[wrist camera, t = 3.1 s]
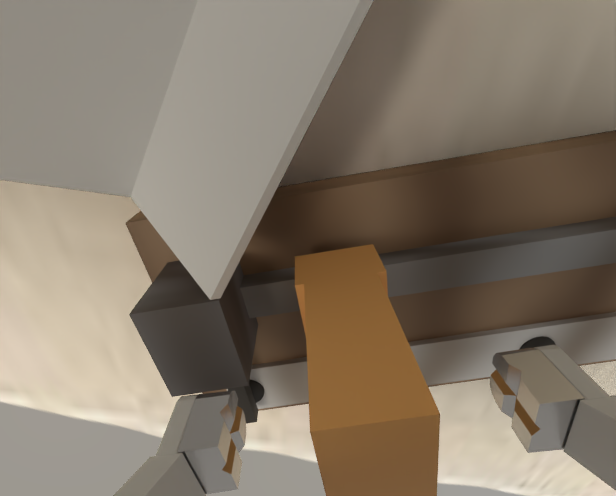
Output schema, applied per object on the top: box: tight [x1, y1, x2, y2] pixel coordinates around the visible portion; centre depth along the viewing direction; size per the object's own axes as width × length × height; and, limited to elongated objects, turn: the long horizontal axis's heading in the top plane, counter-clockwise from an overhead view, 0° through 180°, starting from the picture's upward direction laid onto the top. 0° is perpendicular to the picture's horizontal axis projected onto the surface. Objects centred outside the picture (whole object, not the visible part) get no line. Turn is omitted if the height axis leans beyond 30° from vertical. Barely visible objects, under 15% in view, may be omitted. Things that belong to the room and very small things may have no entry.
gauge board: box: [126, 131, 616, 423], centre depth 14 cm, size 24×12×5 cm, turn 99°
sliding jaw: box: [295, 244, 440, 496], centre depth 11 cm, size 3×9×8 cm, turn 9°
